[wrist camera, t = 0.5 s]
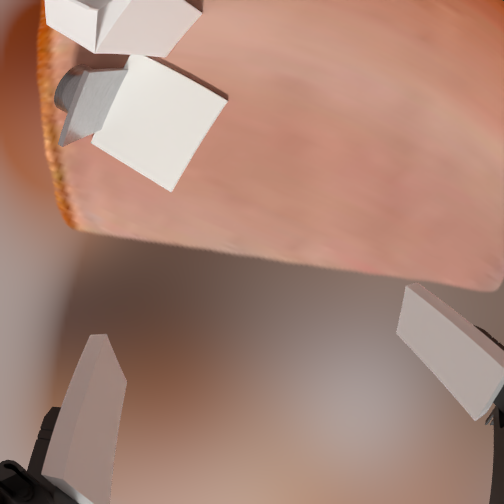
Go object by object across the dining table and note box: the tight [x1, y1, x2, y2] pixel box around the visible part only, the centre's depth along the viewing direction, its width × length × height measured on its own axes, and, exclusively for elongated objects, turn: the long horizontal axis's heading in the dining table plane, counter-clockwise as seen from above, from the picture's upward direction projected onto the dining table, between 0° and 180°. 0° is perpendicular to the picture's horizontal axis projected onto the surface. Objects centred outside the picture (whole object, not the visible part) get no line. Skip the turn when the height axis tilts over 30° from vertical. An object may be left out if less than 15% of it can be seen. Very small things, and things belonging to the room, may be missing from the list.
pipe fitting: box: [54, 64, 128, 147], centre depth 26 cm, size 6×9×9 cm, turn 146°
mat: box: [91, 55, 228, 192], centre depth 32 cm, size 14×14×1 cm
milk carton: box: [45, 0, 202, 57], centre depth 17 cm, size 7×7×19 cm
